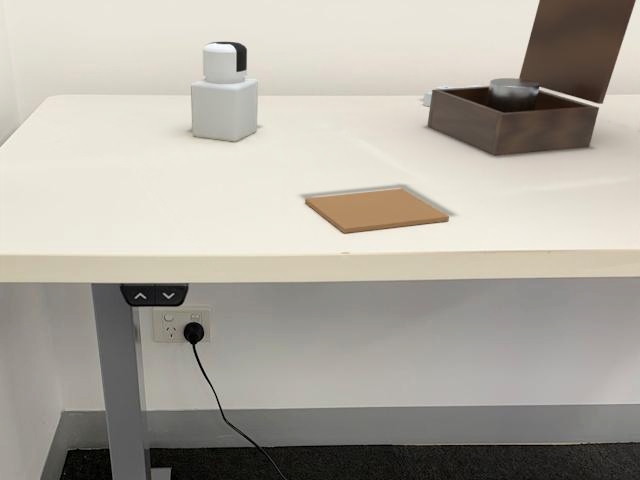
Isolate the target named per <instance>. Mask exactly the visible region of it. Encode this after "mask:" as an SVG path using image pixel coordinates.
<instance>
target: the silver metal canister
mask: <svg viewBox="0 0 640 480" xmlns="http://www.w3.org/2000/svg"><path fill="white" fill-rule="evenodd" d="M488 86H489V92H488V98H487V103H486V107H489V108H492V109H494V110H497V111H500V112H503V113H510V112H523V111H534V110H535V106H536V101H537V96H538V91H539V90H540V87H539V86H540V84H539V83H538V82H535V81H531V80H525V79H519V78H514V77H512V78H511V77H510V78H509V77H505V78H504V77H503V78H495V79H491V80H490V82H489V85H488Z"/></svg>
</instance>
